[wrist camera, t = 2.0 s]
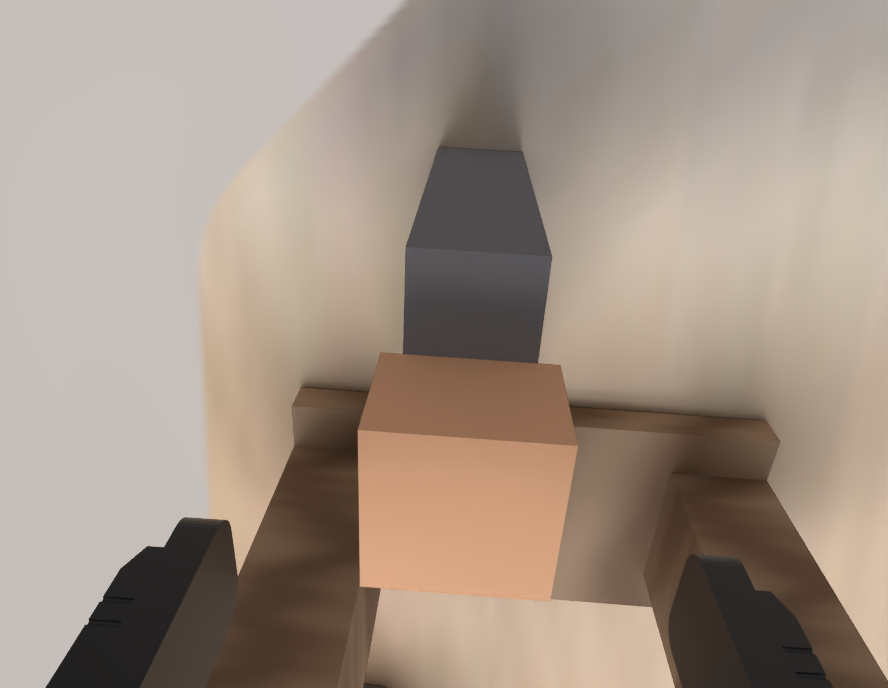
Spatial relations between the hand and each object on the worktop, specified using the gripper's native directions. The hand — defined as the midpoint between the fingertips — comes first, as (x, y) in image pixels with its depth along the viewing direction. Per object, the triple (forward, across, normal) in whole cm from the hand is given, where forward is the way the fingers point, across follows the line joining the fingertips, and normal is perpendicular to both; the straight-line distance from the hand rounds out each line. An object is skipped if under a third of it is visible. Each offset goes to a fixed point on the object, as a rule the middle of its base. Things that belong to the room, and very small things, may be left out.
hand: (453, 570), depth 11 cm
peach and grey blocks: (+15, 0, 0) cm, 15 cm away
